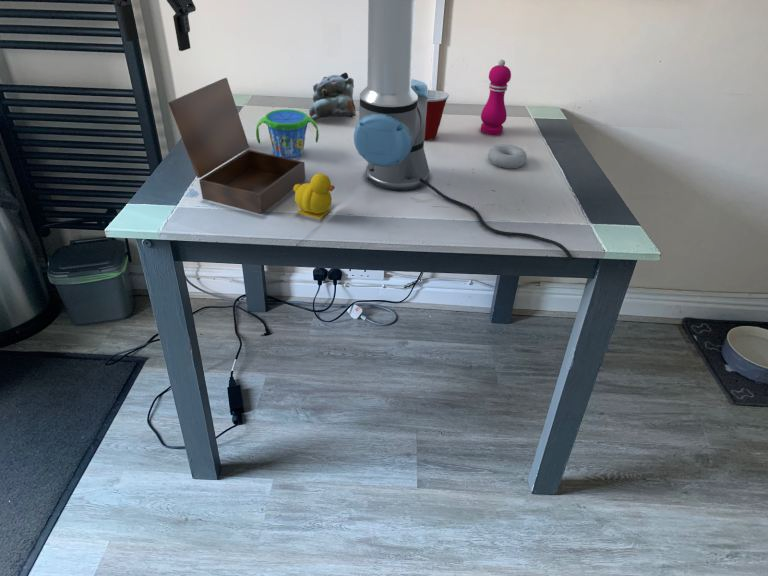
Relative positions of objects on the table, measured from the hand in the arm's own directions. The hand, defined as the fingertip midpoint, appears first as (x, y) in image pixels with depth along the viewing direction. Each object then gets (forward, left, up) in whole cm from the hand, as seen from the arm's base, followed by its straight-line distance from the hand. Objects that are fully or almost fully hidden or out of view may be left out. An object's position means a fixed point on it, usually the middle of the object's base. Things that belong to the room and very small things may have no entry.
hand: (158, 44), depth 116 cm
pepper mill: (-59, -62, -29) cm, 91 cm away
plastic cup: (-44, -49, -23) cm, 70 cm away
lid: (-11, 0, -16) cm, 19 cm away
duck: (-37, +3, -29) cm, 47 cm away
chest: (-20, 0, -29) cm, 36 cm away
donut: (-68, -43, -29) cm, 86 cm away
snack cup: (-16, -21, -29) cm, 40 cm away
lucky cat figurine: (-13, -50, -29) cm, 60 cm away
